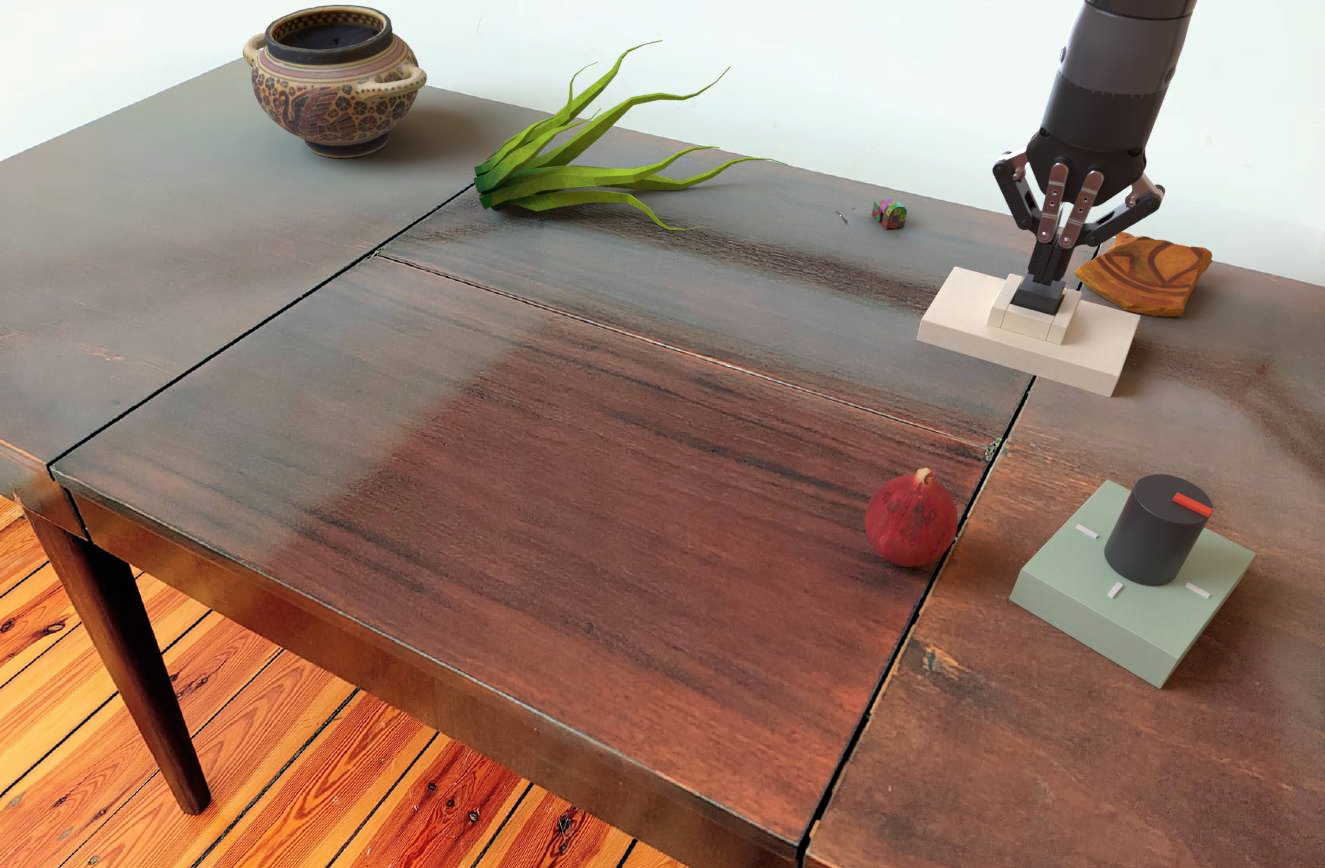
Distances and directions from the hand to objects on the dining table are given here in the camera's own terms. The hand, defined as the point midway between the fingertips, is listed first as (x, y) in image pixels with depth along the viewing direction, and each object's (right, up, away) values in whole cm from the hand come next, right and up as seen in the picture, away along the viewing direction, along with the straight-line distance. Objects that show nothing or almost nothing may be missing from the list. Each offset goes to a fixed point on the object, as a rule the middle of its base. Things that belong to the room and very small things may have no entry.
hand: (1043, 279), depth 85 cm
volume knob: (-2, -22, -20) cm, 29 cm away
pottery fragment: (+13, +1, +10) cm, 16 cm away
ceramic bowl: (-65, +22, +33) cm, 77 cm away
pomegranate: (-16, -22, -15) cm, 31 cm away
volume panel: (-2, -24, -17) cm, 30 cm away
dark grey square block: (0, -2, +1) cm, 2 cm away
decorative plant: (-34, +13, +23) cm, 43 cm away
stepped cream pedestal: (0, -4, +4) cm, 6 cm away
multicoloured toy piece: (-8, +9, +19) cm, 23 cm away
